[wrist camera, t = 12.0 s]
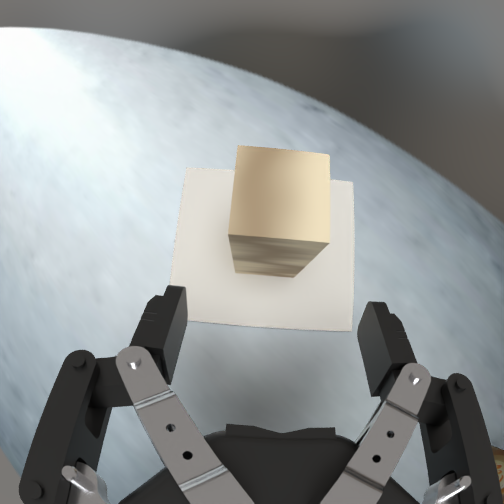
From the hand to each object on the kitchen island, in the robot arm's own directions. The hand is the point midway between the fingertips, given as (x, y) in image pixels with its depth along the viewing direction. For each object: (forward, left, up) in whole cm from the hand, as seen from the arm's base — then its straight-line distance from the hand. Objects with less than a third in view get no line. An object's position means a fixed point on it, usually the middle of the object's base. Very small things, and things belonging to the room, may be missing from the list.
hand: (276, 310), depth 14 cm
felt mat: (0, -6, -13) cm, 15 cm away
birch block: (0, -6, -13) cm, 14 cm away
